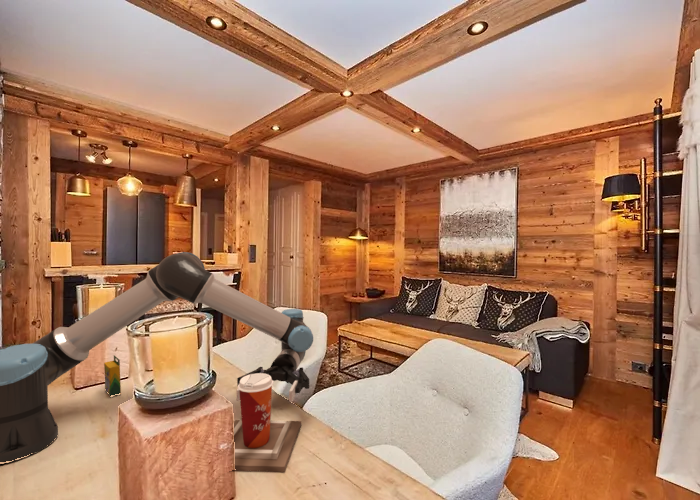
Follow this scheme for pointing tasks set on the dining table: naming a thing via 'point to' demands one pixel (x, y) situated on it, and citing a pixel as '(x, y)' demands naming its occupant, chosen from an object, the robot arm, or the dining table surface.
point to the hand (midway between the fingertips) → (264, 396)
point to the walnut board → (267, 448)
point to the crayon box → (112, 376)
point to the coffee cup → (255, 408)
